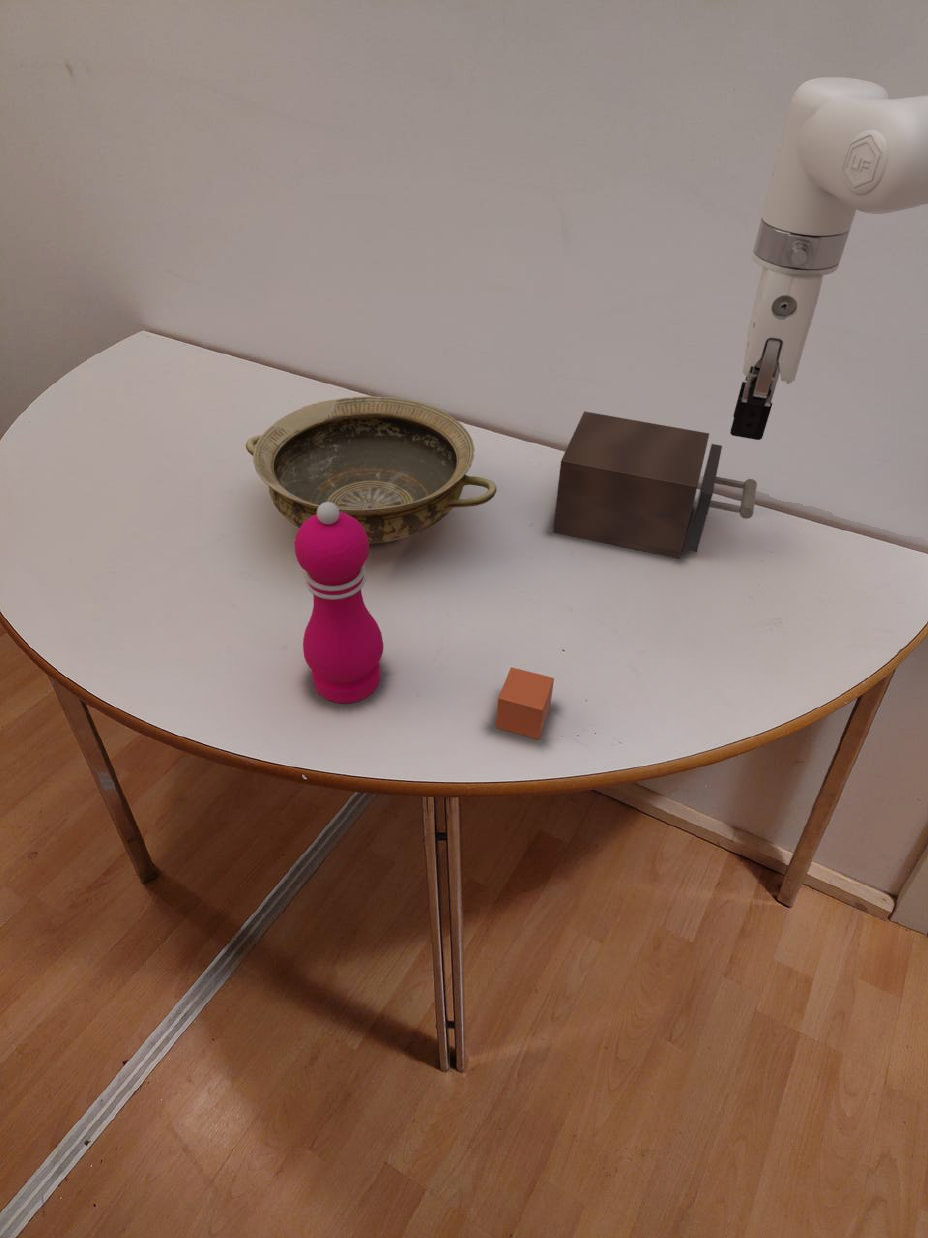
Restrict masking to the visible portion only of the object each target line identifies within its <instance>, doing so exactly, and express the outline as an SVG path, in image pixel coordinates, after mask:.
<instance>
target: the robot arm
mask: <svg viewBox="0 0 928 1238" xmlns="http://www.w3.org/2000/svg"><path fill="white" fill-rule="evenodd" d="M786 113H787V114H786V117H785V122H784V126H783V129H782V134H781V137H780V142H779V146H778V150H777V154H776V158H775V162H774V165H773V171H772V174H771V178H770V182H769V185H768V190H767V193H766V198H765V202H764V206H763V209H762V213H761V218H760V222H759V225H758V231H757V234H756V238H755V242H754V246H753V250H752V254H751V258H752V260H753V261H754V263H756V264H757V265H758V266H760V267H762V269H761V273H760V277H759V281H758V285H757V286H758V287H757V289H756V292H755V298H754V302H753V306H752V310H751V314H750V320H749V325H748V330H747V336H746V342H745V351H744V359H743V368H742V373H743V374H744V376H745V379H744V381H742V382H741V386H740V389H739V392H738V396H737V400H736V404H735V408H734V411H733V415H732V416H733V420H732V423H731V427H730V432H729V433H730V435H731V436H733V437H739V438H743V439H750V440H755V441H760V440H762V439H763V436H764V434H765V430H766V427H767V425H768V424H767V423H768V421H769V417H770V414H771V410H772V407H773V402H772V401H773V397H774V393H775V390H776V387H777V384H778V381H779V376H780V379H781V380H780V381H781V382H785V383H786V384H787V385H790V384H792V383H794V381H796V378H797V377H796V376H797V374H798V370H799V366H800V362H801V358H802V355H803V352H804V349H805V345H806V341H807V338H808V335H809V332H810V328H811V325H812V322H813V318H814V315H815V310H816V307H817V305H818V304H817V303H818V300H819V295H820V292H821V289H822V288H821V287H822V283H823V279H824V276H826V275H830V274H833V273H835V271H837V270H838V269H839V265H840V262H841V259H842V256H843V254H844V251H845V247H846V243H847V241H848V237H849V235H850V231H851V228H852V224H853V221H854V219H855V216H856V212H857V211H859V212H863V213H866V214H873V215H884V214H891V213H895V212H899V211H904V210H910V209H914V208H917V207H920V206H924V205H928V94H922V95H921V94H920V95H917V96H912V97H911V96H910V97H900V98H893V99H891V98H890V97H889V93H888V92H887V90H886V89H885V87H883V86H881V85H880V84H878V83H876V82H874V81H869V80H864V79H861V78H860V79H859V78H853V77H844V76H843V77H842V76H824V77H822V76H821V77H815V78H812V79H808V80H806V81H805V82H803V83H801V84H800V85H799V86H798V87H797V88H796V90H795V92H794V93H793V95H792V97H791V99H790V102H789V107H788V109H787V112H786Z"/></svg>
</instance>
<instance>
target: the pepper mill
mask: <svg viewBox="0 0 928 1238" xmlns="http://www.w3.org/2000/svg"><path fill="white" fill-rule="evenodd" d="M369 554H370V544H369V541H368V537H367V533H366V531H365V530H364V528H363V526H362V525H361V524H360V523H359V522H358V520H356V519H355V518H353V517H352V516H350V515H348V514H345V513H342V512H339V509H338V507H337V506H336V505H335V504H334V503H331V502H324V503H322V504H321V505H320V506H319V507H318V509H317V514H316V515H313V516H312V517H310V518H309V519H307V520H306V521H305V522H304V523H303V524H302V525H301V527H300V528H298V529H297V531H296V534H295V539H294V555H295V559H296V560H297V562H298V565H299V566H300V568H301V569H302V570H304V571H303V573H304V574H303V575H304V578H305V585H306V588H307V590H308V591H309V592H310V593H311V594H312V595H313V596H312V597H313V607H312V613H311V615H310V618H309V621H308V622H307V625H306V627H305V630H304V634H303V639H302V650H303V651H302V652H303V657H304V660H305V663H306V664H307V666H308V667H309V668H310V669H311V674H312V682H313V686H314V689H315V690H316V692H317V694H319V696H321V697H322V698H324V699H326V700H328V701H329V702H332V703H336V704H337V703H339V704H352V703H355V702H359V701H362V700H364V699H366V698H368V697H369V696H370V695H372V694H373V693H374V692H375V691H376V690H377V688H378V686H379V684H380V681H381V668H380V667H381V666H380V661H381V660H382V658H383V653H384V641H383V635H382V631H381V629H380V627H379V624H378V622H377V621H376V619H375V618H374V616H373V615H372V614H371V612H370V611H369V610H368V608H367V607H366V604H365V602H364V599H363V593H362V589H363V587H364V585H365V584H366V580H367V577H366V567H365V563H366V561H367V559H368V557H369Z"/></svg>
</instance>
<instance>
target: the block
mask: <svg viewBox="0 0 928 1238" xmlns="http://www.w3.org/2000/svg"><path fill="white" fill-rule="evenodd" d="M554 681H555V678H554V677H551V676H548V675H544V674H540V673H536V672H532V671H529V670H524V669H519V668H516V667H512V666H511V667H510V668H509V671H508V673H507V676H506V678H505V681H504V683H503V685H502V688H501V690H500V693H499V695H498V698H497V710H496V721H495V722H496V723H495V728H496V729H499V730H502V731H506V732H510V733H513V734H517V735H521V736H524V737H528V738H532V739H535V740H540V738H541V736H542V733H543V729H544V727H545V724H546V721H547V718H548V715H549V712H550V709H551V705H552V704H551V703H552V695H553V689H554Z"/></svg>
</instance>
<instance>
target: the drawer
mask: <svg viewBox="0 0 928 1238" xmlns="http://www.w3.org/2000/svg"><path fill="white" fill-rule="evenodd" d="M722 450H723V445H721V444H715V443H711V444H710V449H709V452H708V456H707V460H706V465H705V468H704V472H703V476H702V479H701V480H702V481H701V484H700V488H699V491H698V496H697V500H696V503H695V508H694V513H693V516H692V521H691V527H690V531H689V536H688V541H687V543H686V548H685V549H686V550H685V551H688V552H693V553H698V551H699V546H700V543H701V539H702V535H703V532H704V528H705V525H706V521H707V518H708V513H709V510H710V508H712V509H716V510H717V509H718V510H723V511H727V512H732V513H737V514H739V516H740V517H741V518H742V519H746V520H747V519H751V518H752V517H753V515H754V512H755V510H754V509H755V504H756V503H755V502H756V495H757V487H758V483H757V481H756V479H753V478H748V479H746V480H745V481H742V480H737V479H731V478H727V477H721V476H717V475H718V469H719V464H720V460H721V456H722V455H721V454H722ZM715 485H721V486H727V487H731V488H737V489H741V490H742V494H741V499H740V505H739V504H738V505H737V504H732V503H727V502H723V501H718V500H712V498H713V495H714V490H715Z"/></svg>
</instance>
